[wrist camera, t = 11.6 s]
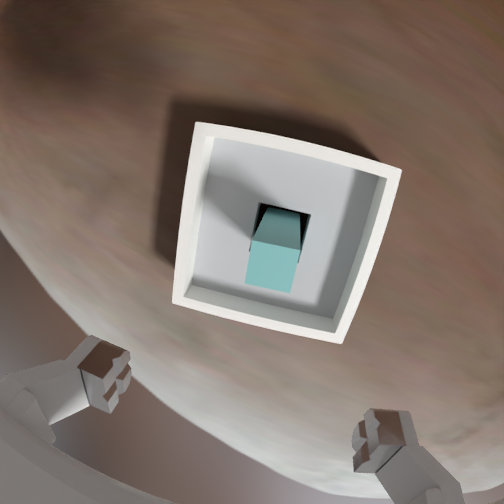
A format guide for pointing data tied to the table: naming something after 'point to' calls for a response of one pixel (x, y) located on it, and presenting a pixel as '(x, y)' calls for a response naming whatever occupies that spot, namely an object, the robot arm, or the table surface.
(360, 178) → the box
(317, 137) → the table surface
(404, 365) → the table surface
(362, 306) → the table surface
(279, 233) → the peg
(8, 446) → the robot arm
